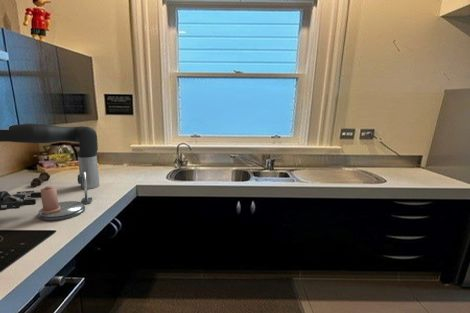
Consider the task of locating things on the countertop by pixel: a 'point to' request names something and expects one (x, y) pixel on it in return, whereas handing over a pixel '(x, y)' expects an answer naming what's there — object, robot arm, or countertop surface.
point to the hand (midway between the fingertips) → (39, 198)
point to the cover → (49, 200)
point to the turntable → (65, 209)
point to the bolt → (40, 179)
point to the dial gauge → (83, 180)
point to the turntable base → (61, 217)
